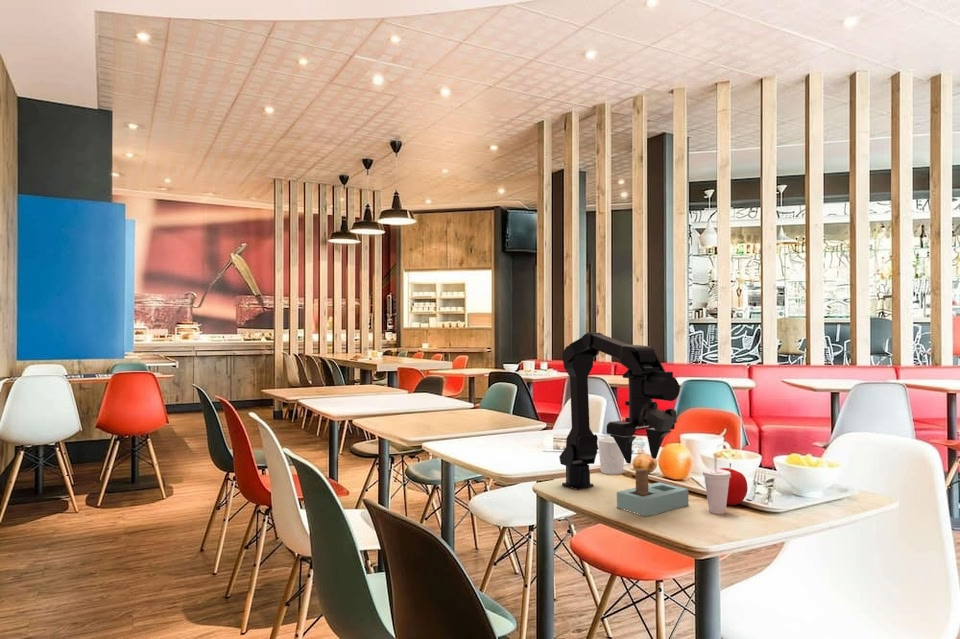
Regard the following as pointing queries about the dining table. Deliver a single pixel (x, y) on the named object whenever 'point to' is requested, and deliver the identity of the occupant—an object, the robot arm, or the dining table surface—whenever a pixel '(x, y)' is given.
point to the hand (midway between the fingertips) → (641, 460)
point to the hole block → (653, 499)
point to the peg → (642, 482)
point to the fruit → (736, 487)
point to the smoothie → (717, 488)
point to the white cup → (610, 457)
